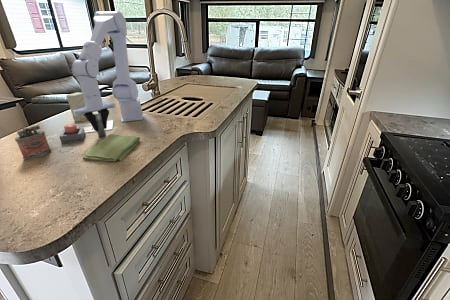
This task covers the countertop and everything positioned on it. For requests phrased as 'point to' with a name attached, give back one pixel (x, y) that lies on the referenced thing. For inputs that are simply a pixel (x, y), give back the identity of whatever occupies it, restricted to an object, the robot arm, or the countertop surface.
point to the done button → (70, 128)
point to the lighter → (32, 143)
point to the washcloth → (112, 148)
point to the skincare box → (76, 105)
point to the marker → (100, 125)
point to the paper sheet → (89, 128)
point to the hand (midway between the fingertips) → (100, 129)
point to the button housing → (72, 136)
